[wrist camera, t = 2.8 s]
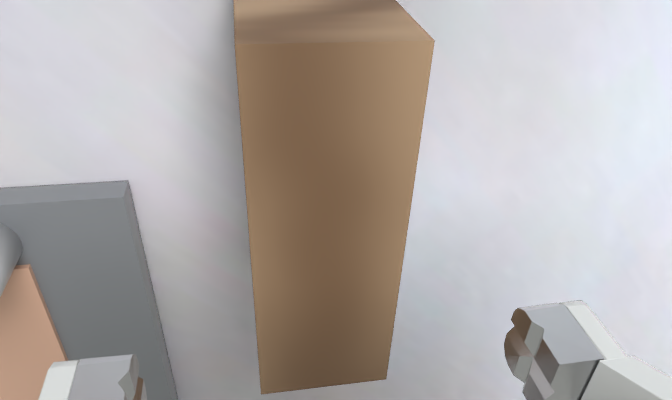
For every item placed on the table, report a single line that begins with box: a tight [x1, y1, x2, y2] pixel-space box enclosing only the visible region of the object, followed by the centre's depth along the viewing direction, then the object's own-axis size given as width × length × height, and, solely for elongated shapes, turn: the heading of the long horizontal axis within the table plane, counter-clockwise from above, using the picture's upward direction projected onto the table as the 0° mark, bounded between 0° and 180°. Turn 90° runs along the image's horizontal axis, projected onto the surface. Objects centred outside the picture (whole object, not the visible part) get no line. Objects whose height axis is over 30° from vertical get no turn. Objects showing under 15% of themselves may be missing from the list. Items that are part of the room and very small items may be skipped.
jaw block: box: [234, 0, 434, 394], centre depth 16 cm, size 4×11×6 cm, turn 178°
